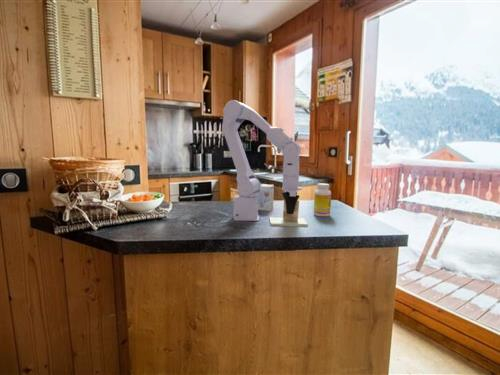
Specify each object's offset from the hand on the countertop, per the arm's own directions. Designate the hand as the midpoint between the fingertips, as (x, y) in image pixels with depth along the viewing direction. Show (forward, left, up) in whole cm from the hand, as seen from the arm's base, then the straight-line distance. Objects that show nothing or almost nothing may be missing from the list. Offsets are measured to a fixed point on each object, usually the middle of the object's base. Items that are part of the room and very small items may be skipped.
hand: (289, 212), depth 107 cm
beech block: (0, 0, -3) cm, 3 cm away
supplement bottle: (+15, +13, -4) cm, 20 cm away
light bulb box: (-10, +23, -4) cm, 25 cm away
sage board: (0, 0, -4) cm, 4 cm away
